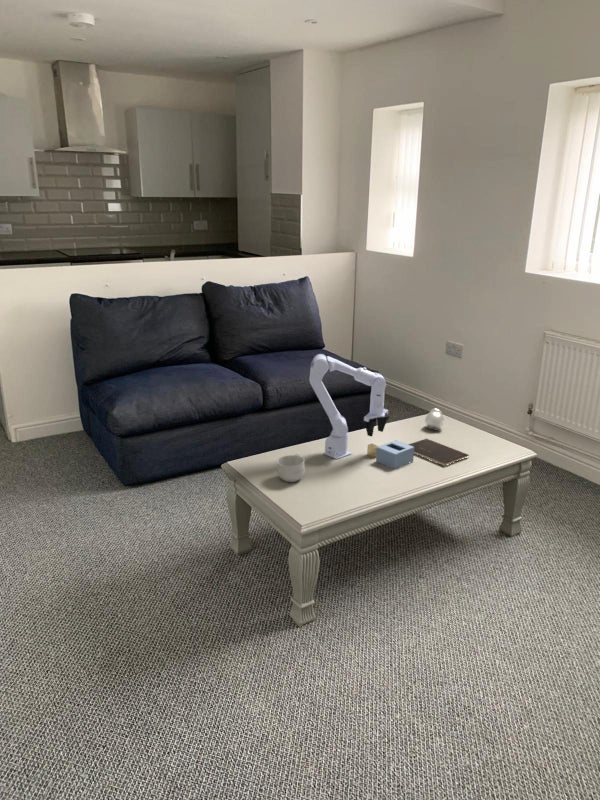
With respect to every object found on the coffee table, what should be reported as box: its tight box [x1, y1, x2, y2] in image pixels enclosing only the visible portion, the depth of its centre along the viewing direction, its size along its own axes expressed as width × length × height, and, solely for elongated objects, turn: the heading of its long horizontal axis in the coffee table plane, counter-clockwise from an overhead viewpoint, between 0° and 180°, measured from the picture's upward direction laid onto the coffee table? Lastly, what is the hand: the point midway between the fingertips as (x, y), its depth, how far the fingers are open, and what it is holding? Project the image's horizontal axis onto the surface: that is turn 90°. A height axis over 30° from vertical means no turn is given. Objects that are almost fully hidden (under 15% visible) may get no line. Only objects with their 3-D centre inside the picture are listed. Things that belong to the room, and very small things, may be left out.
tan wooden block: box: [366, 443, 379, 458], centre depth 272 cm, size 3×5×4 cm, turn 42°
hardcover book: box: [408, 438, 469, 467], centre depth 275 cm, size 16×23×2 cm
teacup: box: [276, 453, 306, 483], centre depth 249 cm, size 14×11×8 cm
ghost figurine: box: [424, 407, 445, 430], centre depth 303 cm, size 9×10×10 cm
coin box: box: [375, 440, 415, 470], centre depth 266 cm, size 12×10×6 cm
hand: (375, 433), depth 271 cm, fingers open, 7 cm apart
